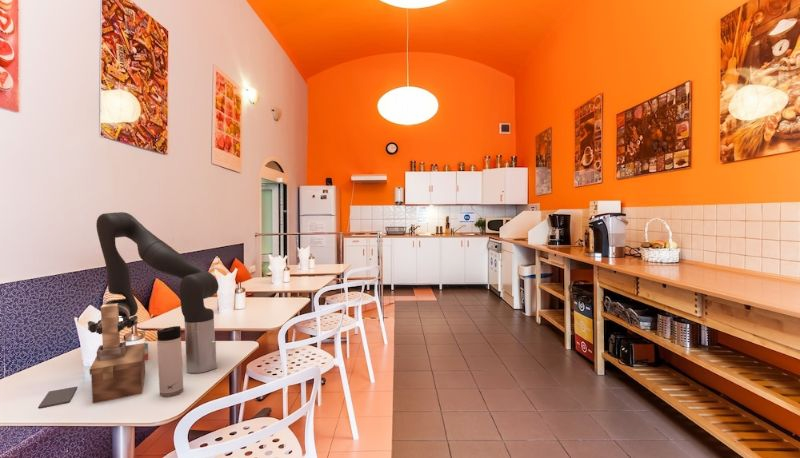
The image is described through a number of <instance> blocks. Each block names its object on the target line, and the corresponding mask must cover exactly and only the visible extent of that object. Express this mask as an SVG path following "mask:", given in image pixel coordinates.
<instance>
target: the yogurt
mask: <svg viewBox="0 0 800 458" xmlns="http://www.w3.org/2000/svg"><path fill="white" fill-rule="evenodd" d="M144 343H145V351H144V353H145V360H146V361H147V360H149V343H148V342H144Z"/></svg>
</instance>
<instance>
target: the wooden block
mask: <svg viewBox="0 0 800 458" xmlns="http://www.w3.org/2000/svg"><path fill="white" fill-rule="evenodd" d="M105 304H106V303H105ZM105 304H102V305H101V306H100V318H101V319H100V320H101V321H102V334H101V335H102V336H101V337H102V339H101V340H102V345H103V350H107V349H114V348H120V343H121V334H120V332H118V327H117V325H118V323H119V312H118V303H116V304H106V305H105Z"/></svg>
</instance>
